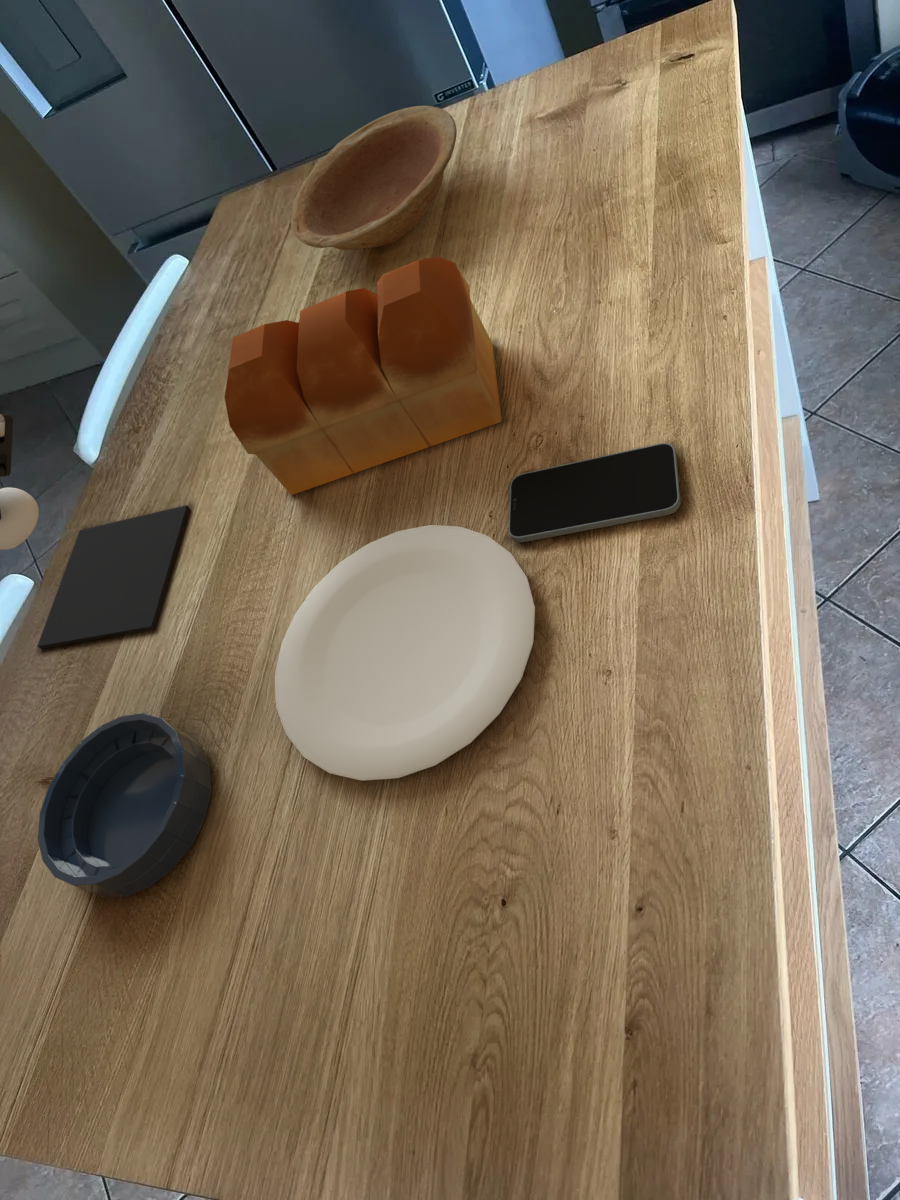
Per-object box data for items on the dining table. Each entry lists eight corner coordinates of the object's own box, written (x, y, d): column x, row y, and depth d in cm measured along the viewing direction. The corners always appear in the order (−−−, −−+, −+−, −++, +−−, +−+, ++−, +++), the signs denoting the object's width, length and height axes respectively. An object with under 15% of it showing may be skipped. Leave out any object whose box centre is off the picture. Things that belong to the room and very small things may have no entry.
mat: (40, 649, 100) (36, 646, 100) (83, 532, 109) (79, 530, 108) (155, 629, 94) (151, 626, 94) (190, 508, 103) (186, 504, 102)
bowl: (334, 190, 128) (305, 139, 122) (490, 138, 118) (466, 80, 112) (298, 305, 116) (264, 255, 110) (468, 258, 106) (441, 200, 100)
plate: (353, 849, 71) (343, 843, 70) (245, 651, 87) (235, 642, 86) (600, 650, 71) (594, 640, 70) (447, 489, 88) (440, 478, 86)
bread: (287, 498, 97) (204, 405, 85) (293, 417, 104) (217, 320, 92) (506, 422, 89) (446, 308, 78) (495, 340, 96) (439, 225, 85)
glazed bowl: (53, 901, 81) (15, 887, 77) (101, 741, 89) (69, 722, 85) (192, 896, 75) (157, 881, 71) (231, 725, 83) (201, 705, 79)
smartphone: (679, 507, 74) (508, 540, 80) (682, 514, 75) (511, 546, 80) (673, 440, 78) (510, 475, 84) (675, 446, 79) (513, 481, 84)
